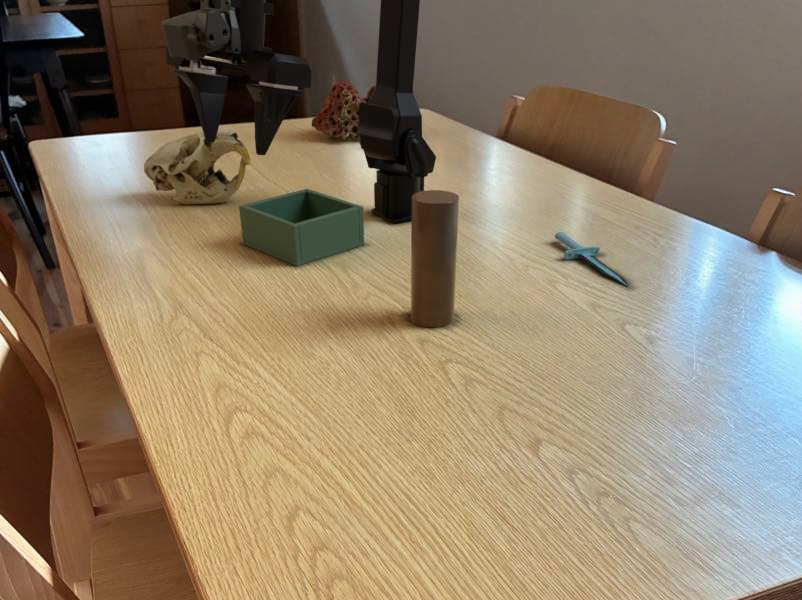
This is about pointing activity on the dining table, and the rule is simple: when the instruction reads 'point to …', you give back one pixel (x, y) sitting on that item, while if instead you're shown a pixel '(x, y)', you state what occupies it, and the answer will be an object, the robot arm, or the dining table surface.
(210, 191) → the skull
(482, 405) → the dining table surface
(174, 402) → the dining table surface
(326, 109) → the coral
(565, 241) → the knife
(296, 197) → the basket
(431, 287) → the brown cylinder
